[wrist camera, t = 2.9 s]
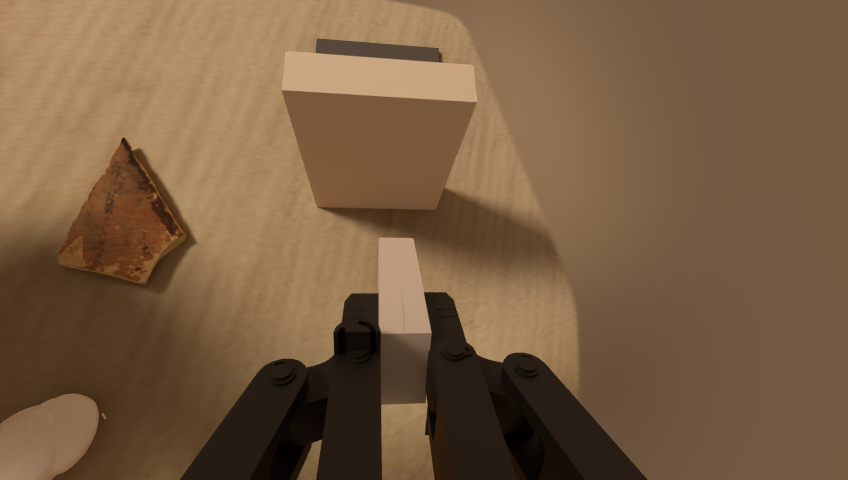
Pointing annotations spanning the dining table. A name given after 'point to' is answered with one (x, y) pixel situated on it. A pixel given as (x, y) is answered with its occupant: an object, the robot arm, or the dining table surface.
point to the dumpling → (47, 437)
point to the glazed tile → (377, 127)
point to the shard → (122, 223)
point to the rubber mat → (377, 50)
